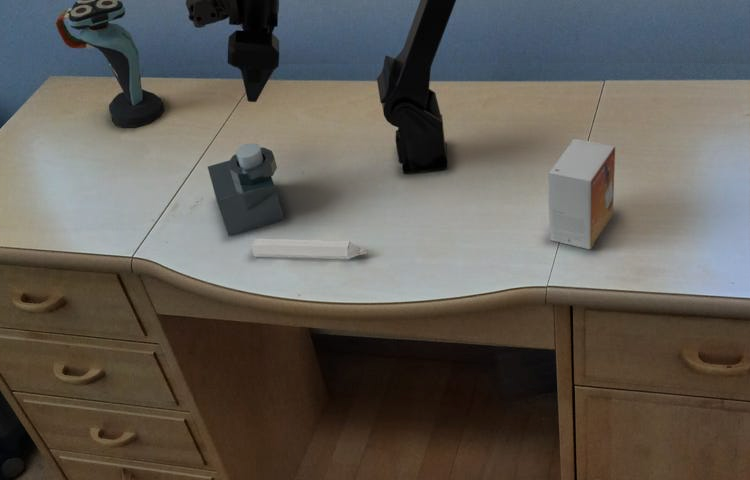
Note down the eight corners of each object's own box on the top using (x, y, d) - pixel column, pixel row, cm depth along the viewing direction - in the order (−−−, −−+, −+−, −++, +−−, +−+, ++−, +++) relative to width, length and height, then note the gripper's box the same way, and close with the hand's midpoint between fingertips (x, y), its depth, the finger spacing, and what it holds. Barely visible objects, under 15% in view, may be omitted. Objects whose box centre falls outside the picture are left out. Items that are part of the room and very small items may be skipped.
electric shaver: (159, 124, 153) (118, 11, 140) (91, 133, 155) (44, 21, 141) (169, 96, 160) (130, -15, 146) (104, 104, 161) (59, -5, 148)
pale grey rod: (372, 262, 121) (257, 258, 125) (374, 247, 121) (259, 243, 125) (367, 255, 118) (250, 251, 122) (369, 240, 119) (252, 236, 123)
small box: (590, 251, 115) (591, 182, 108) (548, 240, 118) (546, 172, 110) (614, 214, 120) (616, 145, 112) (573, 204, 122) (573, 136, 115)
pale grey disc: (261, 152, 128) (257, 140, 127) (265, 165, 126) (262, 152, 124) (237, 159, 128) (233, 147, 127) (241, 172, 125) (237, 159, 124)
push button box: (279, 184, 136) (267, 137, 130) (292, 218, 129) (279, 170, 124) (219, 201, 135) (203, 155, 129) (228, 236, 128) (213, 190, 123)
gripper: (194, -66, 120) (195, 47, 130) (184, -5, 106) (186, 116, 116) (281, -58, 121) (275, 53, 131) (282, 4, 107) (275, 121, 118)
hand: (252, 83), depth 124 cm, fingers open, 9 cm apart
